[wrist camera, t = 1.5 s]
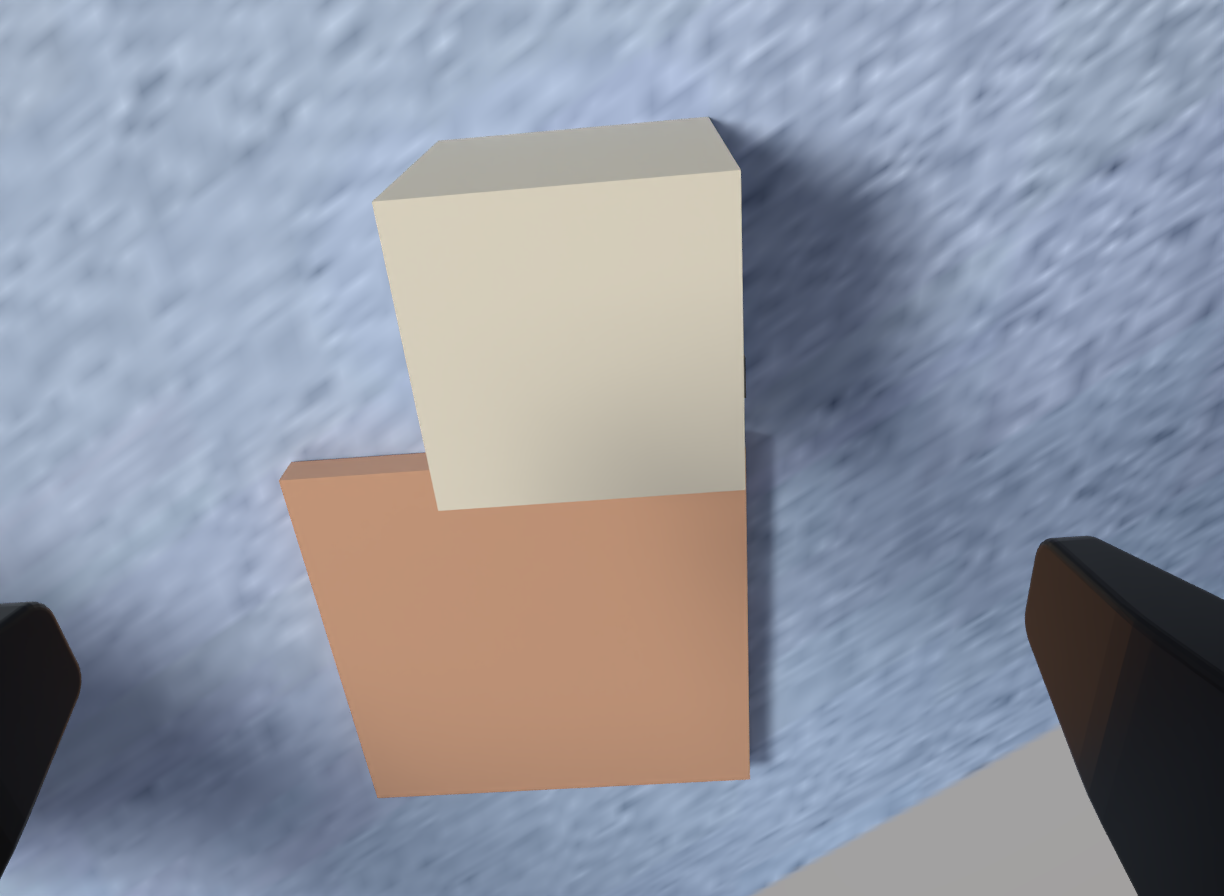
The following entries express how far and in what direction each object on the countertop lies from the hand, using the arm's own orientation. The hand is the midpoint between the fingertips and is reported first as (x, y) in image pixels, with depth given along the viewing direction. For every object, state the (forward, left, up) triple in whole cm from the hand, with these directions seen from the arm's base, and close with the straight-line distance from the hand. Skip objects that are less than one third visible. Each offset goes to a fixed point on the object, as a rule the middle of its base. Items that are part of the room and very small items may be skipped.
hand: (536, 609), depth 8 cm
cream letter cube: (0, 0, -11) cm, 11 cm away
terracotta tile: (-2, -9, -11) cm, 14 cm away
